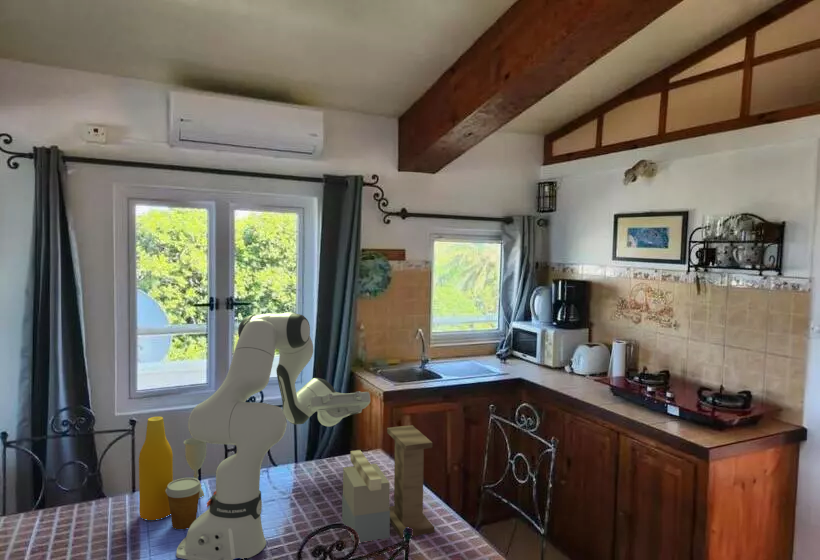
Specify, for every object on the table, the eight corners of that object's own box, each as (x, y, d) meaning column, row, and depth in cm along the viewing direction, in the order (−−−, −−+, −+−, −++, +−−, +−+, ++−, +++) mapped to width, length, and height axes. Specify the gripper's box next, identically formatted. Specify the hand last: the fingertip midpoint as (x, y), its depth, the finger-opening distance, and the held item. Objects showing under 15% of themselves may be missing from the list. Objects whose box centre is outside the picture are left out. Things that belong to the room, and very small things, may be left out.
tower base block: (342, 520, 162) (342, 494, 162) (374, 515, 166) (374, 489, 165) (354, 544, 149) (354, 515, 149) (389, 538, 153) (389, 510, 152)
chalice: (182, 501, 173) (182, 445, 172) (185, 492, 179) (184, 438, 178) (207, 499, 175) (207, 443, 174) (209, 490, 181) (208, 436, 180)
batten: (350, 460, 167) (350, 451, 166) (360, 459, 168) (360, 449, 167) (370, 491, 146) (370, 480, 146) (381, 489, 147) (381, 478, 147)
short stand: (383, 512, 167) (384, 428, 166) (414, 507, 171) (415, 424, 170) (401, 538, 152) (402, 446, 151) (434, 532, 156) (435, 442, 155)
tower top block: (343, 494, 162) (343, 467, 161) (375, 489, 165) (376, 463, 165) (353, 516, 149) (353, 487, 148) (389, 510, 152) (389, 482, 151)
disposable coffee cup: (204, 527, 157) (204, 486, 156) (168, 536, 152) (168, 493, 151) (198, 513, 165) (197, 474, 165) (163, 521, 160) (163, 481, 159)
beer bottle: (138, 524, 158) (136, 425, 157) (140, 510, 167) (139, 415, 165) (173, 518, 162) (172, 421, 160) (173, 505, 170) (172, 412, 169)
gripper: (305, 399, 188) (311, 387, 177) (363, 394, 195) (373, 383, 184) (306, 418, 186) (313, 407, 174) (365, 412, 193) (375, 401, 181)
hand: (344, 394), depth 179 cm, fingers open, 8 cm apart
